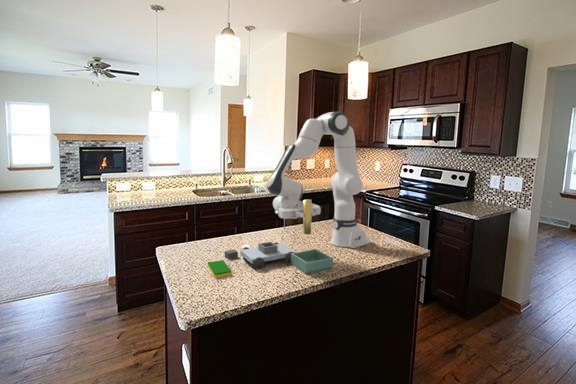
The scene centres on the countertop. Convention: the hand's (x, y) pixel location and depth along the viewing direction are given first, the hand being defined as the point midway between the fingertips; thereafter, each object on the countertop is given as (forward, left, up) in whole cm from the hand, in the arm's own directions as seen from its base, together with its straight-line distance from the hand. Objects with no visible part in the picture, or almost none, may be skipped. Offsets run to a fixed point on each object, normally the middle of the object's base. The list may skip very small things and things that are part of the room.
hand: (308, 215), depth 142 cm
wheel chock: (+27, -27, -24) cm, 45 cm away
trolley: (+13, -15, -24) cm, 31 cm away
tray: (-1, +1, -24) cm, 24 cm away
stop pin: (0, -1, -9) cm, 9 cm away
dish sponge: (+37, -13, -24) cm, 46 cm away
